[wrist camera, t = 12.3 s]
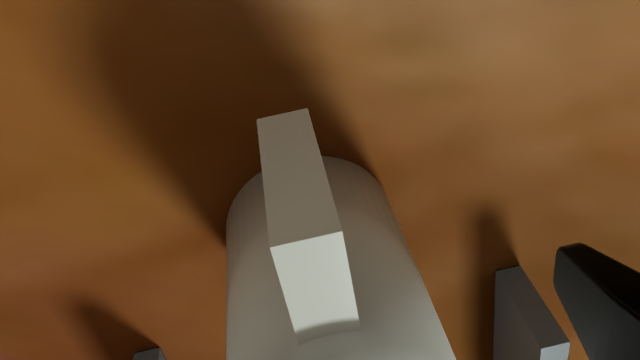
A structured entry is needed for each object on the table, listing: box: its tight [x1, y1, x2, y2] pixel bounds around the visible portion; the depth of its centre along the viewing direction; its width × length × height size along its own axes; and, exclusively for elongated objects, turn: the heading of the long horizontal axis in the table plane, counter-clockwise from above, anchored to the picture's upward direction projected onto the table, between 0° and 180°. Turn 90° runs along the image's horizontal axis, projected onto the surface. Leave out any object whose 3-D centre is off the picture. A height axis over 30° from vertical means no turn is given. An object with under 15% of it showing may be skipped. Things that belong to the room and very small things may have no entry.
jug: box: [226, 108, 456, 360], centre depth 18 cm, size 10×7×9 cm
